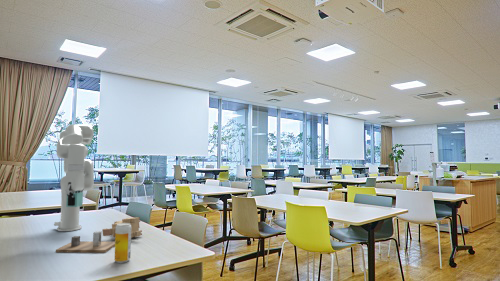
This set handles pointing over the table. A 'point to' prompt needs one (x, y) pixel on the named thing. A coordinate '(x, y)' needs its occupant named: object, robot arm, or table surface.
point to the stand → (85, 246)
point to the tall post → (97, 238)
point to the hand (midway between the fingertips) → (74, 204)
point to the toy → (133, 222)
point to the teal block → (76, 199)
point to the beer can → (122, 242)
